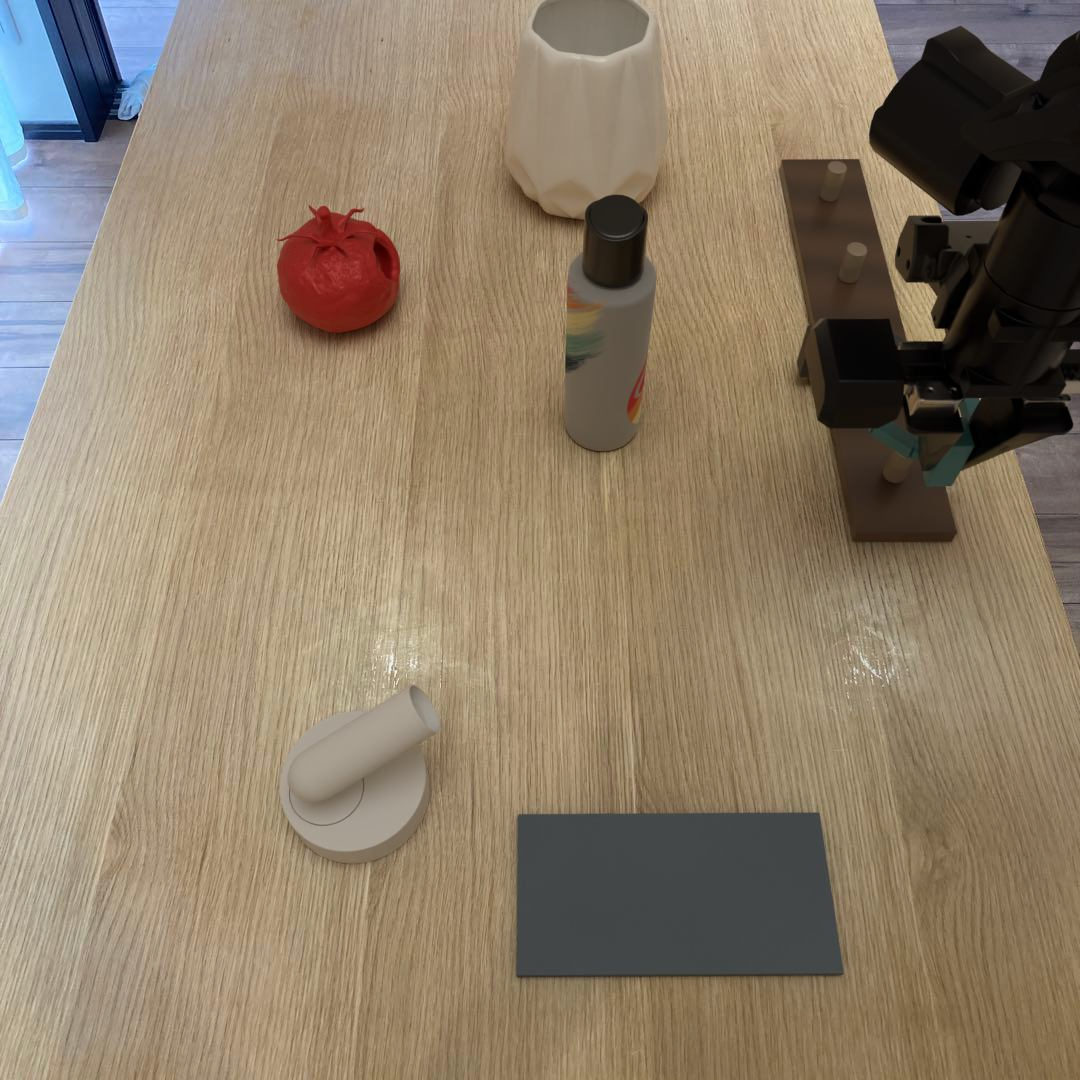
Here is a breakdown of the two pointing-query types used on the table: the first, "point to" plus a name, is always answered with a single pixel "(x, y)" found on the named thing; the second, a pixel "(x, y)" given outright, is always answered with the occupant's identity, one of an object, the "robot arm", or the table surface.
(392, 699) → the wall hook
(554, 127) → the vase
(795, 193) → the peg rack
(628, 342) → the lotion bottle
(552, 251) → the table surface
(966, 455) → the ring teal
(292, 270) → the pomegranate
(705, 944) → the mat
